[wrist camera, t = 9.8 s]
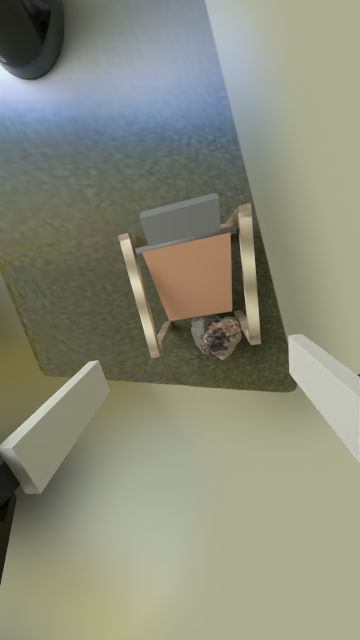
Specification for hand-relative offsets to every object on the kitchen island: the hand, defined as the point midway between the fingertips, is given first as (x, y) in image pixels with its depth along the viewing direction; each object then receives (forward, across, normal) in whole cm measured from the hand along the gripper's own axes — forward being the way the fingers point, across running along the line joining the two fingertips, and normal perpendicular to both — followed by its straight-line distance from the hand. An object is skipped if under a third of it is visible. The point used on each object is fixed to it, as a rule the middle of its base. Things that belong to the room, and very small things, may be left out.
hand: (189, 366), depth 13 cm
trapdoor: (+21, 0, +6) cm, 22 cm away
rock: (+23, +3, -5) cm, 24 cm away
